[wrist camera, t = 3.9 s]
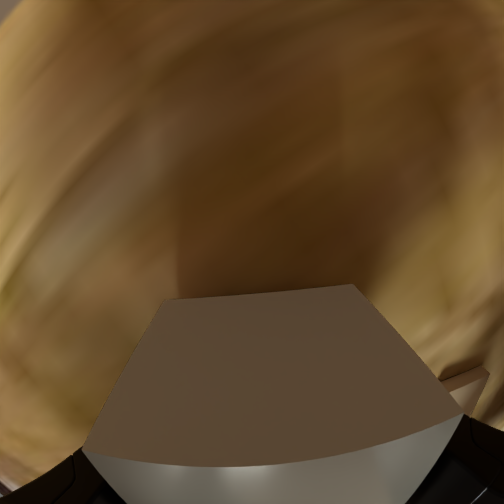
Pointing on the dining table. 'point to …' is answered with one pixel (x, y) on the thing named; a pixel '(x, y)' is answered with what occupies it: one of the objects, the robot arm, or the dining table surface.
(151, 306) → the dining table surface
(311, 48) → the dining table surface
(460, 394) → the stand
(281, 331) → the pale grey cube
